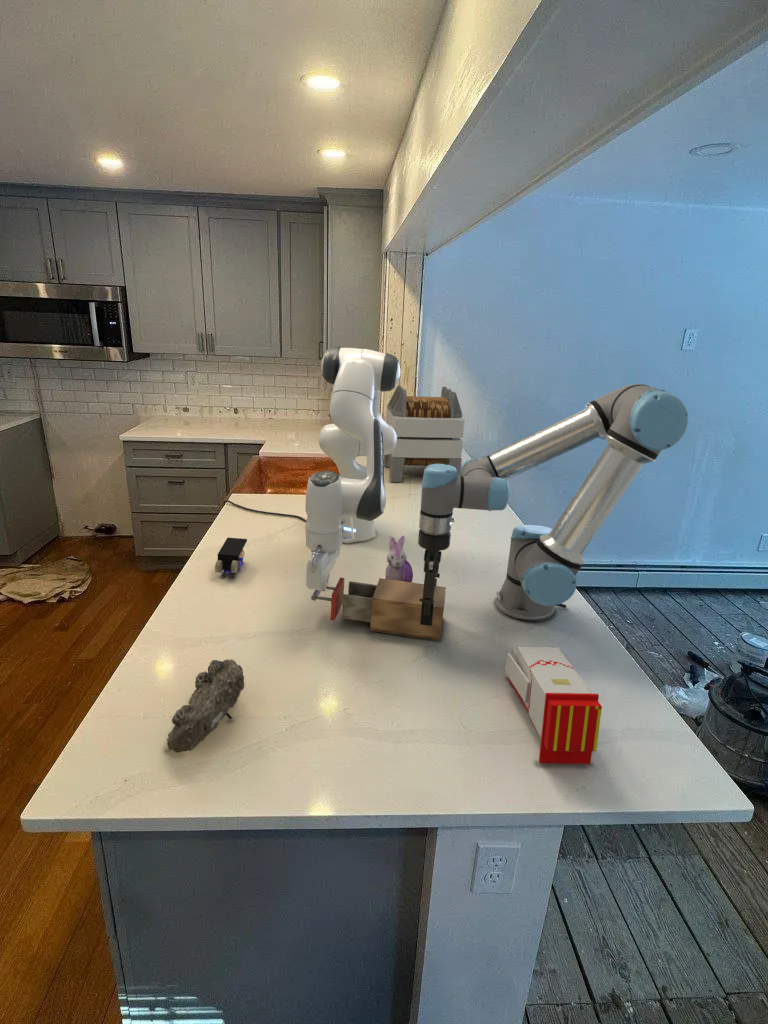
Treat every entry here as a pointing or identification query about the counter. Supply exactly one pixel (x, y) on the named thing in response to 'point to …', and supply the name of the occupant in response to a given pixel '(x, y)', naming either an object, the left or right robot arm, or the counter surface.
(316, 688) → the counter surface
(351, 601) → the drawer
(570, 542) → the right robot arm
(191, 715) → the fossil
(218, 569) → the figurine character
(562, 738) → the toy
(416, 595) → the cabinet
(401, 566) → the figurine
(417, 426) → the transformer
